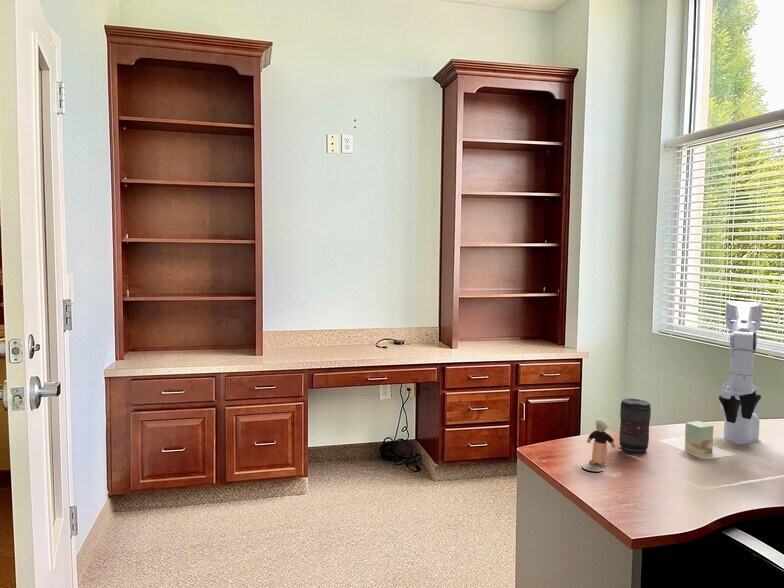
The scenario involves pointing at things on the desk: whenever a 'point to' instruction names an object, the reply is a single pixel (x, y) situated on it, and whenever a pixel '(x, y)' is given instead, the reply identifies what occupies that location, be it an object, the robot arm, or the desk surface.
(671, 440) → the plate
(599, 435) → the grandmother figurine
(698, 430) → the sage block
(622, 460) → the desk surface
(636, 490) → the desk surface
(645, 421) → the camera lens
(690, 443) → the beech block
